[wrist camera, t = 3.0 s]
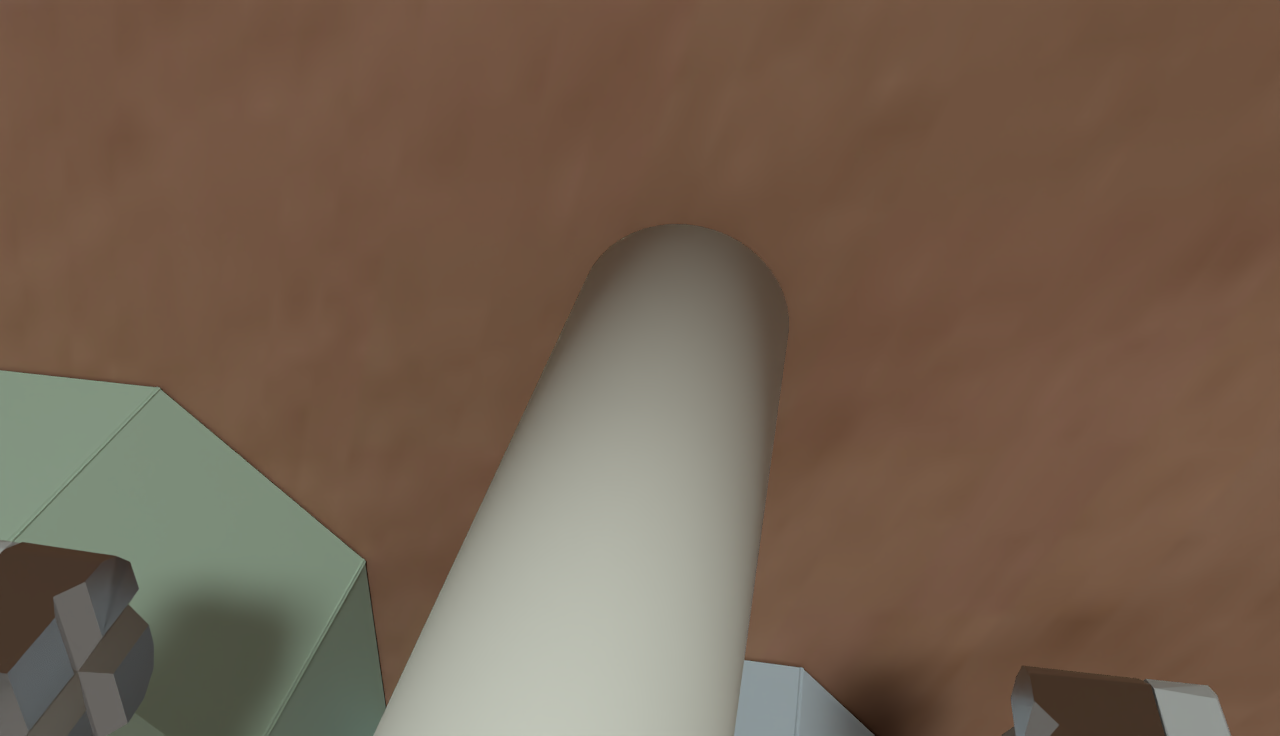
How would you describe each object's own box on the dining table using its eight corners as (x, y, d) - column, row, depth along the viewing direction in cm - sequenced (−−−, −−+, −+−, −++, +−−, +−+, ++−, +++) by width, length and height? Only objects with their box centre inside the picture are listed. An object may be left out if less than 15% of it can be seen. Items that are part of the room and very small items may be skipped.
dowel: (797, 233, 15) (617, 1490, 5) (780, 419, 16) (617, 1683, 6) (578, 215, 15) (-19, 1338, 5) (581, 398, 17) (121, 1551, 7)
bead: (344, 406, 17) (195, 618, 14) (406, 844, 23) (311, 1084, 19) (-256, 341, 19) (-540, 516, 15) (-67, 768, 24) (-243, 977, 20)
